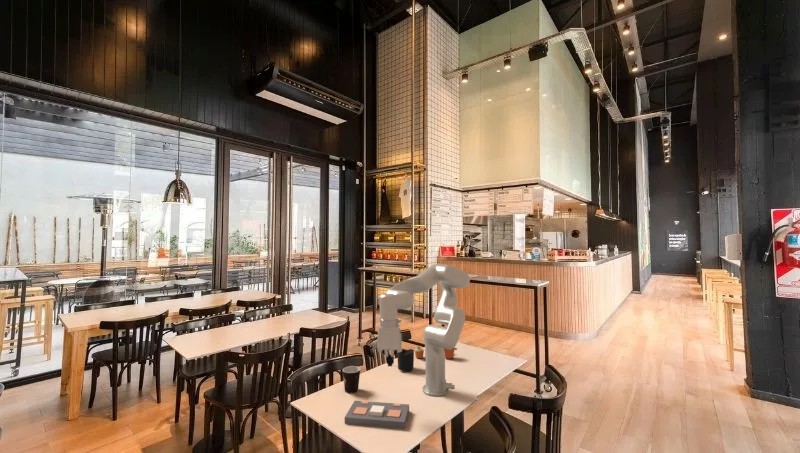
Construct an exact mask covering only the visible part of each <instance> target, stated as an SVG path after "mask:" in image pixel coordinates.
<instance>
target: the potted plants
mask: <svg viewBox="0 0 800 453" xmlns="http://www.w3.org/2000/svg"><path fill="white" fill-rule="evenodd" d="M443 349H444V352H445V359H453V358H454V357H455V356H454V354H455V351H457V350H458V348H457V347H456V346H455V347H454V348H453V349H445V348H443ZM413 350H414V357H415V358H416V359H422V358H423V357H424V355H425V357H426V354H424V353H425V352H424V351H425V349H424V348H420V346H419V345H417V347H416V348H415V349H413Z"/></svg>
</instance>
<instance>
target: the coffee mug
mask: <svg viewBox="0 0 800 453" xmlns="http://www.w3.org/2000/svg"><path fill="white" fill-rule="evenodd" d="M360 375H361V367H359V366H356V365H349V366H346V367H344V368H342V378H343V387H344V388H343V389H344V392H345V393H347V394H354V393H355V394H356V393H357V392H358V391H359V385H360V384H359V383H360Z"/></svg>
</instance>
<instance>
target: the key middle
mask: <svg viewBox="0 0 800 453" xmlns="http://www.w3.org/2000/svg"><path fill="white" fill-rule="evenodd" d="M383 414H384V406H375V405H373V406H372V408H371V410H370V416H381V417H382V416H383Z"/></svg>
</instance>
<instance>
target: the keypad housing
mask: <svg viewBox="0 0 800 453" xmlns="http://www.w3.org/2000/svg"><path fill="white" fill-rule="evenodd" d="M373 405H375V406H384V414H383V416H382V417H381V416H370V410H371V408H372V406H373ZM356 407H362V408H368V411H367V413H366V415H355V414H353V412H354V410H355V409H356ZM389 410H401V416H400V418H393V417H387V414H388V411H389ZM409 414H410V404H408V403H407V404H406V403H396V402H380V401H378V402H377V401H367V400H354V401H353V403H352V404H351V406H350V407H349V409H348V411H347V412H346V414H345V416H344V424H345V425H356V426H364V427H365V426H367V427H378V428H387V429H397V430H405V428H406V425H407V421H408V417H409Z"/></svg>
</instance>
